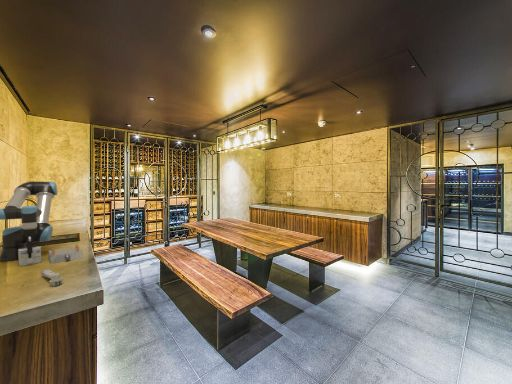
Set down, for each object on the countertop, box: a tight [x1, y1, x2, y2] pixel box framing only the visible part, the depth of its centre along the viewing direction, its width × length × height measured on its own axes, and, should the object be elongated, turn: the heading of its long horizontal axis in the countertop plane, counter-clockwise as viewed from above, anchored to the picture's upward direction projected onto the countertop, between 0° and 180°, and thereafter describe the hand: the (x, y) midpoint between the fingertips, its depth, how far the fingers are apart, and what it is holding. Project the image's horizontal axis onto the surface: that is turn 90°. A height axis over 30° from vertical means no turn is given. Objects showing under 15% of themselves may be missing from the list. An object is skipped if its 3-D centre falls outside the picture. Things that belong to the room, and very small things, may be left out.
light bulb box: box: [18, 245, 42, 267], centre depth 157 cm, size 11×7×11 cm, turn 144°
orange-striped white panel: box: [47, 243, 84, 264], centre depth 169 cm, size 23×18×8 cm
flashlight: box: [41, 268, 64, 287], centre depth 129 cm, size 5×7×25 cm
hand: (29, 261), depth 157 cm, fingers closed on light bulb box, 7 cm apart
